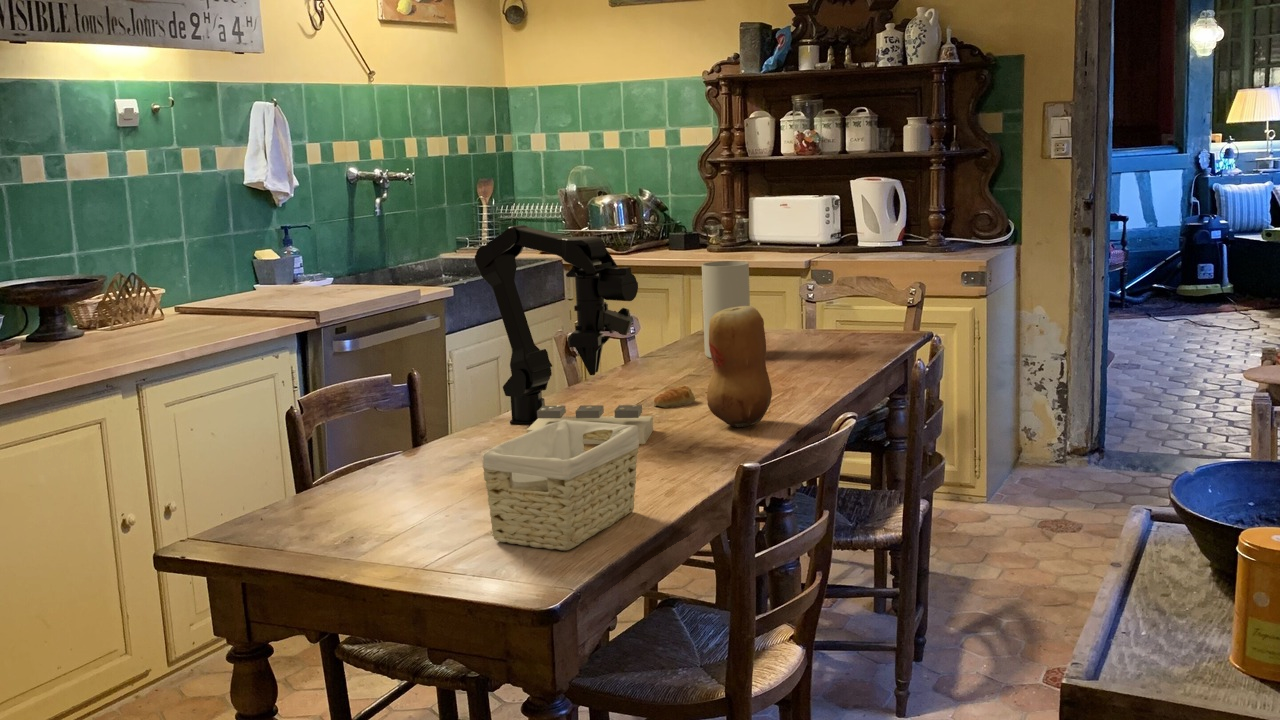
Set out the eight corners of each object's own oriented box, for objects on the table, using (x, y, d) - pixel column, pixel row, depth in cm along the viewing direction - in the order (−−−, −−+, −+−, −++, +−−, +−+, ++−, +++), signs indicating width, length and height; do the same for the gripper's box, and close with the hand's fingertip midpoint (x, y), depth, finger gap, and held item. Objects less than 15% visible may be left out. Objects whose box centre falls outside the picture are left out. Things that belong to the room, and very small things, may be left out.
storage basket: (562, 500, 208) (557, 416, 205) (647, 510, 201) (643, 423, 198) (482, 545, 187) (475, 452, 184) (573, 558, 180) (568, 461, 177)
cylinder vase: (753, 359, 323) (750, 265, 318) (705, 361, 323) (702, 267, 318) (749, 350, 335) (746, 259, 330) (703, 352, 335) (700, 261, 330)
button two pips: (614, 418, 245) (614, 409, 245) (619, 412, 249) (618, 404, 249) (638, 417, 244) (637, 409, 244) (642, 412, 249) (641, 404, 248)
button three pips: (537, 418, 248) (536, 410, 247) (543, 412, 252) (542, 404, 252) (560, 418, 247) (560, 410, 246) (565, 412, 251) (565, 404, 251)
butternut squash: (697, 423, 256) (693, 306, 252) (753, 415, 261) (750, 299, 257) (728, 437, 244) (724, 314, 239) (786, 428, 249) (783, 307, 244)
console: (527, 444, 246) (526, 429, 245) (540, 430, 256) (539, 416, 256) (644, 444, 242) (644, 429, 241) (653, 430, 252) (652, 416, 252)
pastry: (666, 411, 270) (665, 394, 269) (646, 406, 275) (646, 390, 274) (697, 403, 276) (697, 387, 275) (678, 399, 281) (677, 383, 280)
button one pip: (575, 418, 246) (575, 409, 246) (580, 412, 251) (580, 404, 251) (599, 418, 245) (598, 409, 245) (603, 412, 250) (603, 404, 250)
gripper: (620, 305, 239) (624, 383, 242) (636, 291, 257) (639, 364, 260) (565, 306, 241) (569, 383, 244) (584, 293, 259) (588, 364, 262)
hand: (593, 373), depth 253 cm, fingers open, 3 cm apart
